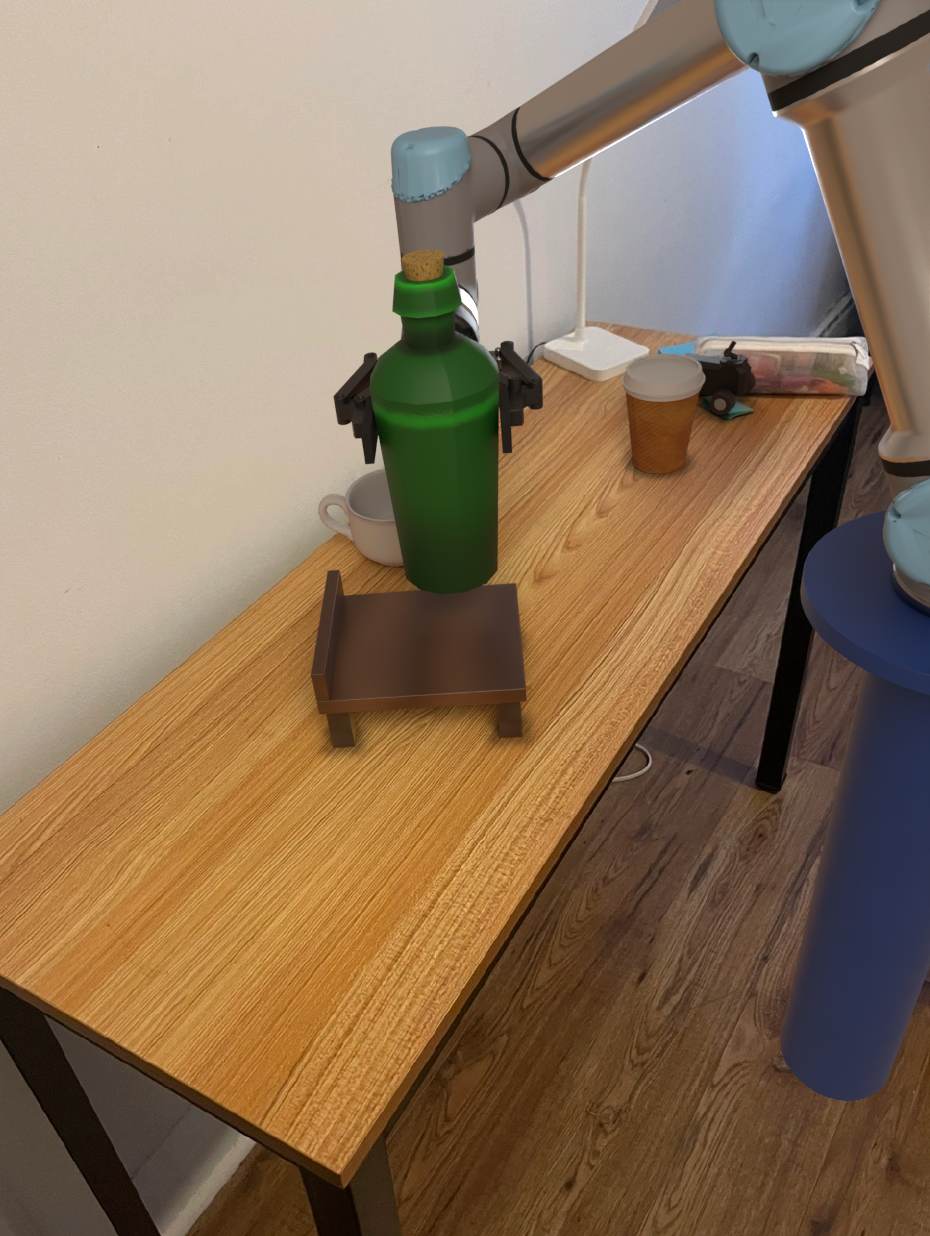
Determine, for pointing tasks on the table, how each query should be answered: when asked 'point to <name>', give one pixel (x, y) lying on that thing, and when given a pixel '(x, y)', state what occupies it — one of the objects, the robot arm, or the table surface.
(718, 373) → the toy vehicle
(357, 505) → the teacup
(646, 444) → the disposable coffee cup
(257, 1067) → the table surface
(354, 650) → the shelf
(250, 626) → the table surface
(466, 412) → the bottle
